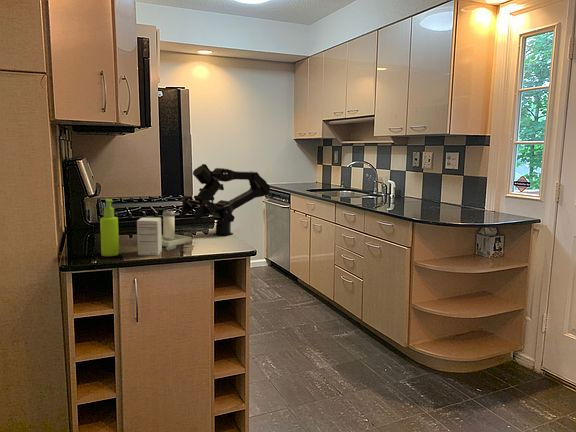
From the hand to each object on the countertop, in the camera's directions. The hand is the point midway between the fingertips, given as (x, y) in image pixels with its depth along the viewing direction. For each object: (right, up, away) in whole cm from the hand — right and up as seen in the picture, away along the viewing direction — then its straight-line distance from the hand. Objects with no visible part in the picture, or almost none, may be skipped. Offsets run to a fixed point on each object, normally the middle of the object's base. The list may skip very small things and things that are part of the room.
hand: (187, 219), depth 187 cm
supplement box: (-8, -12, -23) cm, 28 cm away
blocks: (+2, -11, -15) cm, 19 cm away
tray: (-6, -9, -5) cm, 12 cm away
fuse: (-6, -9, -5) cm, 12 cm away
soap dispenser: (-21, -12, -27) cm, 37 cm away
